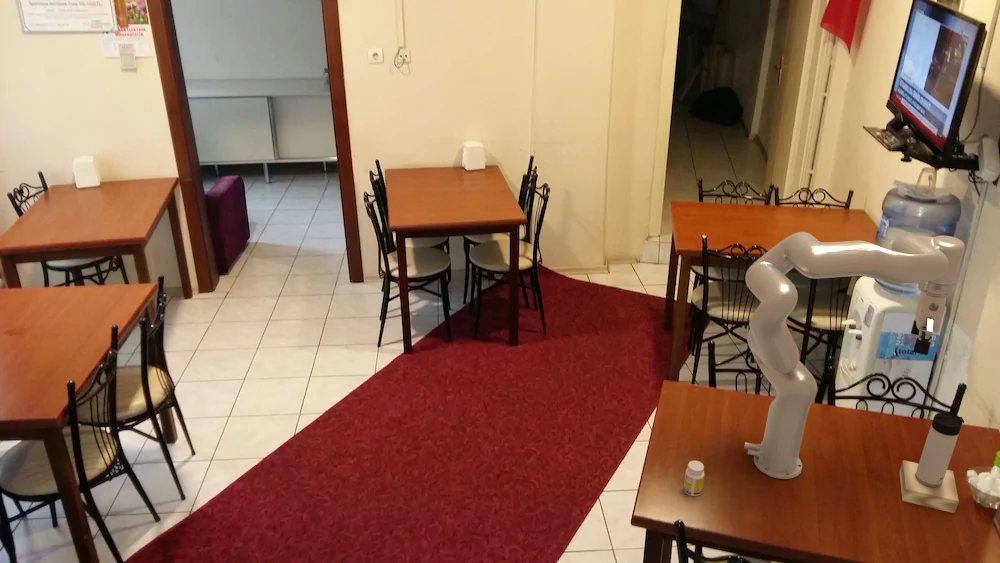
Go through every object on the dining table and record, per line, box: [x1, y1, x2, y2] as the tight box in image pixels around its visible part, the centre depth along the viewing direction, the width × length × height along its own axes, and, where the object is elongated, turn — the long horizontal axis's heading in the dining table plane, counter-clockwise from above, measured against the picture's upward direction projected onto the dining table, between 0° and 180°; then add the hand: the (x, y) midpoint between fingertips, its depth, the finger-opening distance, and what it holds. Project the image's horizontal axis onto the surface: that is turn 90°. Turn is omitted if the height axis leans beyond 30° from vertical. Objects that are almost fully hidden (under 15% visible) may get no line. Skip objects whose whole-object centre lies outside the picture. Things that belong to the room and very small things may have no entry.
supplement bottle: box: [683, 460, 705, 497], centre depth 199 cm, size 5×5×8 cm
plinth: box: [898, 459, 960, 514], centre depth 199 cm, size 12×12×4 cm
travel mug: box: [915, 411, 965, 487], centre depth 194 cm, size 6×7×20 cm
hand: (918, 343), depth 197 cm, fingers open, 9 cm apart
